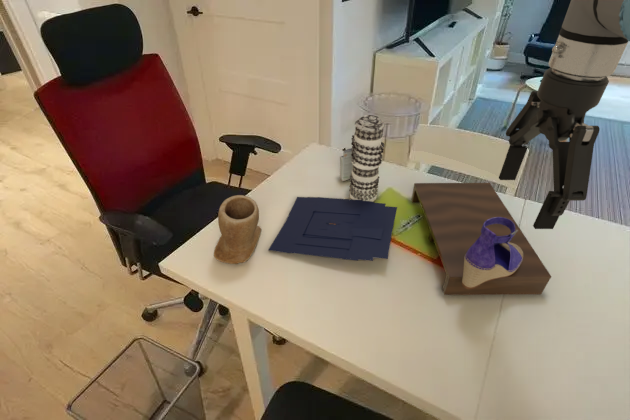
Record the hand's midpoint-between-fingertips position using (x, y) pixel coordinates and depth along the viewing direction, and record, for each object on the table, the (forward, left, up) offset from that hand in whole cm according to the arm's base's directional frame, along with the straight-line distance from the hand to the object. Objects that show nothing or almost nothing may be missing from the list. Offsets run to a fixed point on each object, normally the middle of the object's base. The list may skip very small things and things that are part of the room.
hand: (523, 201), depth 62 cm
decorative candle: (+46, -12, -30) cm, 56 cm away
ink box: (+55, -18, -30) cm, 65 cm away
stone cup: (+51, +28, -30) cm, 65 cm away
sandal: (+3, -7, -24) cm, 25 cm away
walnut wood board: (+14, -18, -30) cm, 37 cm away
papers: (+39, +6, -30) cm, 49 cm away
